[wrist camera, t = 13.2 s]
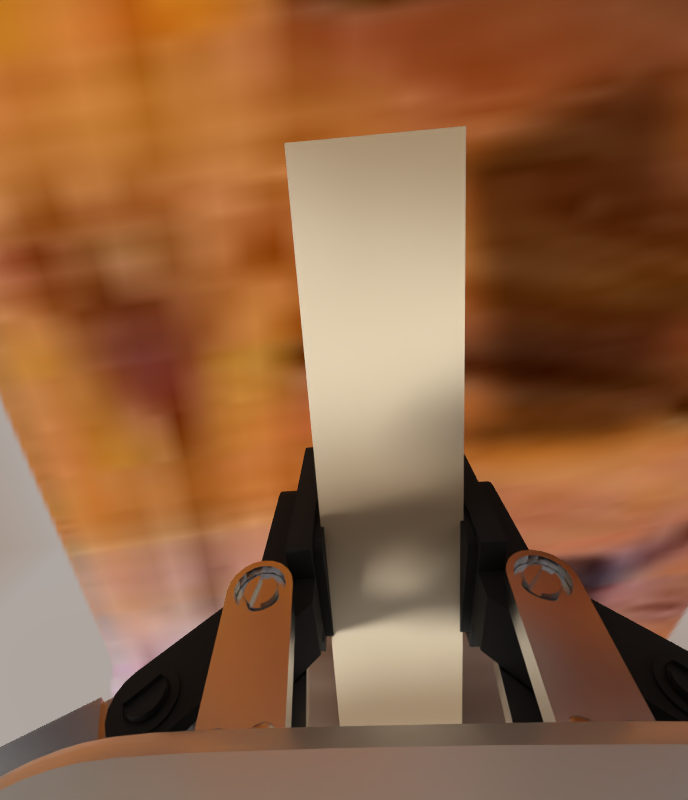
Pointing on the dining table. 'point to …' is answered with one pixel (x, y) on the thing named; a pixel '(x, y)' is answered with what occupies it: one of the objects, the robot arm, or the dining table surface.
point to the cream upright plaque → (388, 423)
